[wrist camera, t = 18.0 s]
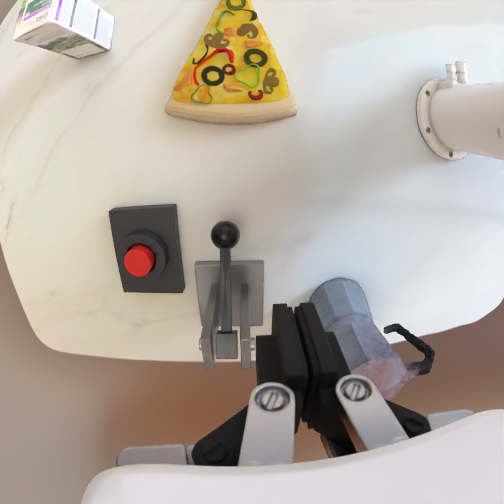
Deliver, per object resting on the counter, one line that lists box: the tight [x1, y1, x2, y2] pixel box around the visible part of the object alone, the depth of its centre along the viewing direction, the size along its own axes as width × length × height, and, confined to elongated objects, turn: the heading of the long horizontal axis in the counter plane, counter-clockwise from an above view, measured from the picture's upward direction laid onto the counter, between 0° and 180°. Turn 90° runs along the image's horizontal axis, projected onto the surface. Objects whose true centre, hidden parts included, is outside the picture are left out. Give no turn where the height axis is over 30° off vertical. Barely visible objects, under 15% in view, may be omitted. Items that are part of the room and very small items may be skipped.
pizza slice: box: [165, 0, 298, 124], centre depth 25 cm, size 16×21×3 cm
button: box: [124, 245, 155, 277], centre depth 33 cm, size 4×4×2 cm
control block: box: [109, 204, 185, 293], centre depth 35 cm, size 12×9×4 cm
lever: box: [211, 221, 240, 359], centre depth 30 cm, size 15×3×3 cm, turn 1°
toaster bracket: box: [195, 261, 263, 369], centre depth 34 cm, size 10×9×13 cm
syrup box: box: [13, 0, 115, 59], centre depth 18 cm, size 6×6×14 cm
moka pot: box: [310, 278, 435, 401], centre depth 31 cm, size 10×15×20 cm, turn 111°
